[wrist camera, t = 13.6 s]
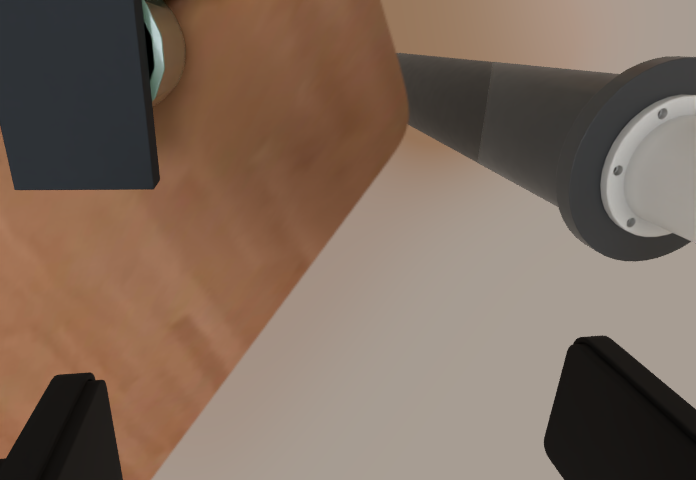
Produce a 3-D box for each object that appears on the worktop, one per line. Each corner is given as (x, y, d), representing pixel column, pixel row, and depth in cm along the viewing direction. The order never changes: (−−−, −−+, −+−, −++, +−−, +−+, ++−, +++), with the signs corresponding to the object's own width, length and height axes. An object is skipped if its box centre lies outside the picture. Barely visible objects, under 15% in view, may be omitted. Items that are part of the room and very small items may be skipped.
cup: (180, -18, 30) (155, -38, 22) (190, 109, 33) (170, 132, 25) (45, -27, 29) (-36, -53, 21) (67, 106, 32) (4, 129, 24)
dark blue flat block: (130, -107, 21) (120, -119, 20) (160, 180, 26) (154, 189, 24) (-34, -124, 20) (-60, -139, 18) (29, 180, 25) (14, 190, 23)
